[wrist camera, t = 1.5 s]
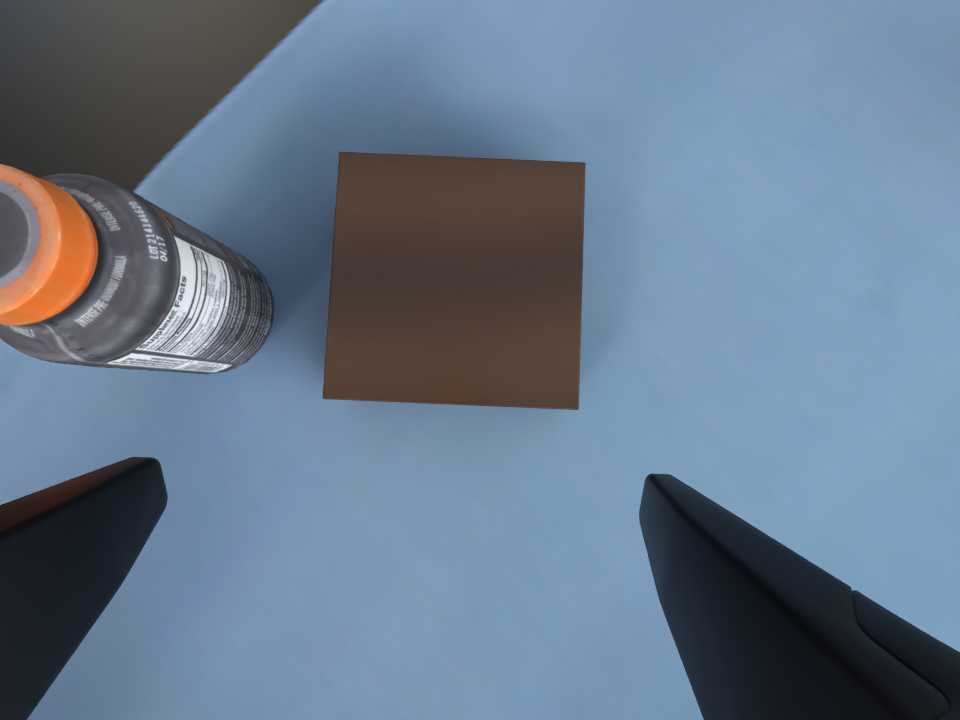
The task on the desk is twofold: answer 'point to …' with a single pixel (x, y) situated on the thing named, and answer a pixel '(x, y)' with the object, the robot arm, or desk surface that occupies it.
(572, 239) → the block
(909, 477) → the desk surface
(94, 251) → the pill bottle
